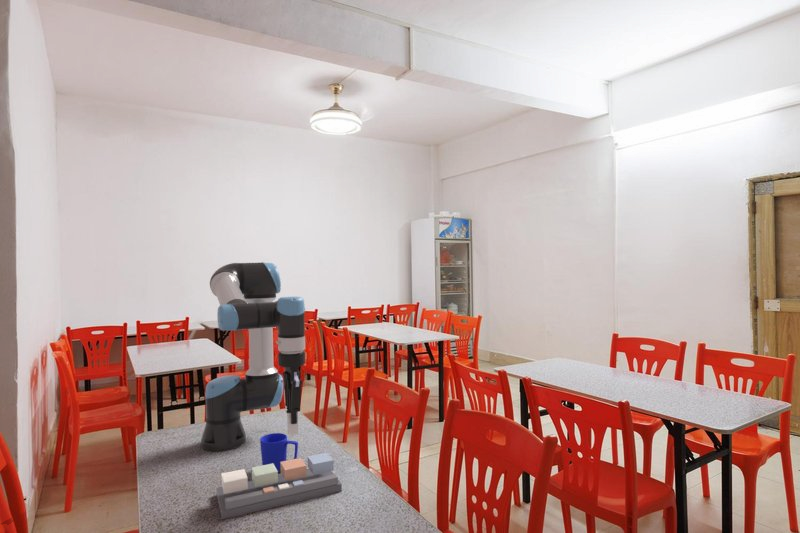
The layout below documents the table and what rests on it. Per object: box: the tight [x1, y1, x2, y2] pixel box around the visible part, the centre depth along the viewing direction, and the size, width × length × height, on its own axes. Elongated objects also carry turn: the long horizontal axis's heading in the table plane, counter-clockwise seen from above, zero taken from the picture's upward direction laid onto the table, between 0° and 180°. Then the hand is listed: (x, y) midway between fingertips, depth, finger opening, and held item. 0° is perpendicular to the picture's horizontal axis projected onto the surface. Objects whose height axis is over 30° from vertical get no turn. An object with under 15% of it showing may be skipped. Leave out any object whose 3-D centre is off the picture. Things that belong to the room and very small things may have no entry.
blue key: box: [307, 452, 335, 475], centre depth 139 cm, size 6×6×3 cm
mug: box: [259, 432, 299, 473], centre depth 149 cm, size 8×12×10 cm
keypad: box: [215, 468, 343, 520], centre depth 134 cm, size 14×32×4 cm, turn 116°
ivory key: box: [220, 468, 249, 494], centre depth 129 cm, size 6×6×3 cm
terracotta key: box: [280, 457, 307, 481], centre depth 136 cm, size 6×6×3 cm
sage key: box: [251, 463, 279, 487], centre depth 132 cm, size 6×6×3 cm
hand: (293, 433), depth 135 cm, fingers closed
